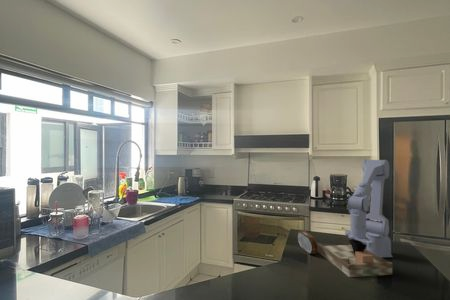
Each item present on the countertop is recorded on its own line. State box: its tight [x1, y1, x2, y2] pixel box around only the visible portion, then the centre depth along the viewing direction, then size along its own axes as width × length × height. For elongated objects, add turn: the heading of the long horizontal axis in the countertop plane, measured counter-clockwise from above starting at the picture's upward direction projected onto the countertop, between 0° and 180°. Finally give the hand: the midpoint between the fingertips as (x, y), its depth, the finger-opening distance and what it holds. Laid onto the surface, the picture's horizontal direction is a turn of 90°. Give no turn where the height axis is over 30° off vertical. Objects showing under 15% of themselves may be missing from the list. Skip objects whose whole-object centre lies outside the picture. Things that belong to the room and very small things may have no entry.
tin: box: [297, 230, 318, 255], centre depth 117 cm, size 15×3×8 cm, turn 9°
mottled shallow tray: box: [316, 242, 393, 278], centre depth 105 cm, size 18×24×4 cm
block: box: [355, 251, 374, 263], centre depth 96 cm, size 4×4×4 cm
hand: (358, 258), depth 100 cm, fingers closed
